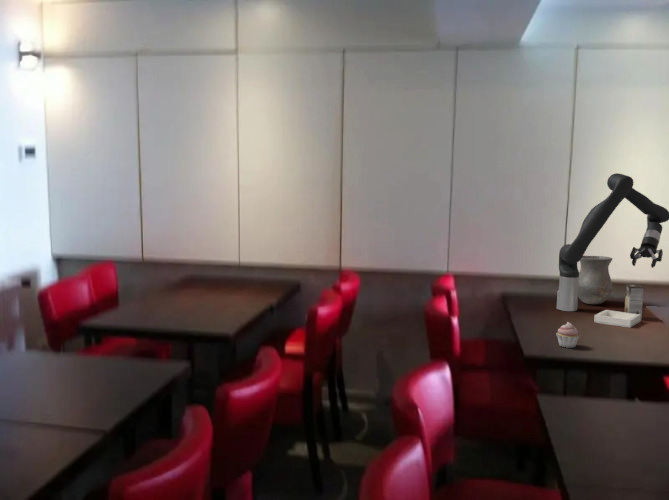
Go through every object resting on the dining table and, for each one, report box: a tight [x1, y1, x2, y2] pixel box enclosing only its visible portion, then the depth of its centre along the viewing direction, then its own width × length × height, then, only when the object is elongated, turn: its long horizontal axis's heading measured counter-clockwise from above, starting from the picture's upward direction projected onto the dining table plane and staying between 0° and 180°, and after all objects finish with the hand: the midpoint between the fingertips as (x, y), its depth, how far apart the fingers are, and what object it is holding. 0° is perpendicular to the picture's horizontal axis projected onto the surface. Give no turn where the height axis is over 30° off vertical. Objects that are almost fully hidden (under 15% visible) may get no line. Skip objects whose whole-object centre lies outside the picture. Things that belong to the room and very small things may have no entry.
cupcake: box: [555, 321, 581, 349], centre depth 268 cm, size 9×9×10 cm
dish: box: [593, 309, 641, 329], centre depth 311 cm, size 16×16×4 cm
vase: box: [578, 255, 614, 305], centre depth 353 cm, size 20×19×25 cm
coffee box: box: [623, 283, 645, 321], centre depth 319 cm, size 9×6×16 cm
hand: (642, 265), depth 326 cm, fingers open, 8 cm apart
